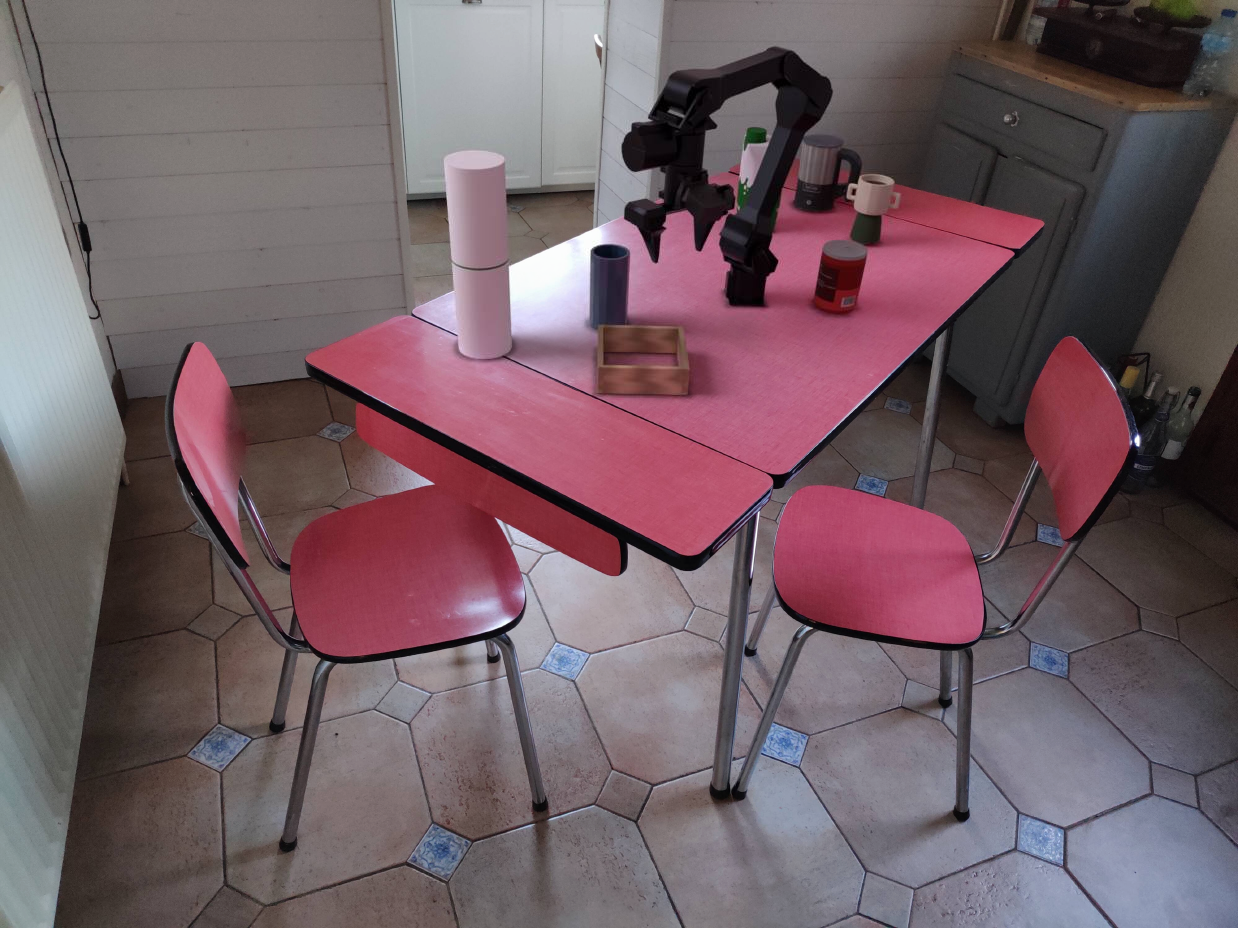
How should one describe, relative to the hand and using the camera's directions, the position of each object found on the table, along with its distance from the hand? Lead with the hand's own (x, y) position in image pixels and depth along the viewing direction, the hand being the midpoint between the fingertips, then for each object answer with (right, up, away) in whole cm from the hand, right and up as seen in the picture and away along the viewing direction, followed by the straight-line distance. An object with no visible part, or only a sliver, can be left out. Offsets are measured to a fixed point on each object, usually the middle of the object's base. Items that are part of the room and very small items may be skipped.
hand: (676, 256), depth 146 cm
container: (-31, -15, -2) cm, 35 cm away
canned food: (+29, -6, +15) cm, 33 cm away
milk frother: (+37, +26, +59) cm, 74 cm away
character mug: (+42, +12, +40) cm, 59 cm away
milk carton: (+20, +17, +45) cm, 52 cm away
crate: (-6, -20, -7) cm, 22 cm away
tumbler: (-11, -10, +6) cm, 16 cm away
